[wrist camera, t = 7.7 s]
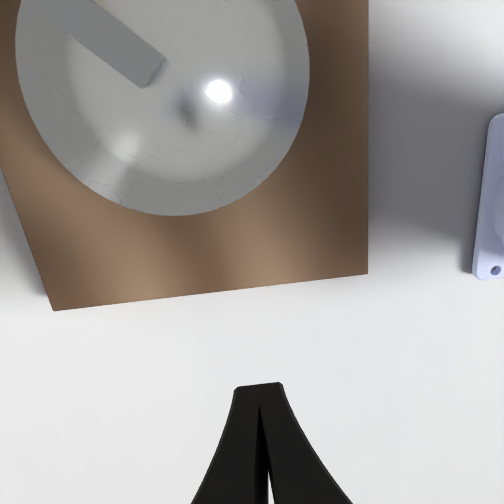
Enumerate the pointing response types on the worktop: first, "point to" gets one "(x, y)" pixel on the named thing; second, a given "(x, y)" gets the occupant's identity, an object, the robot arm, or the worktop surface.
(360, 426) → the worktop surface
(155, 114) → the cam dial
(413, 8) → the worktop surface
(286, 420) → the robot arm
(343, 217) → the brown flat rectangular slab
